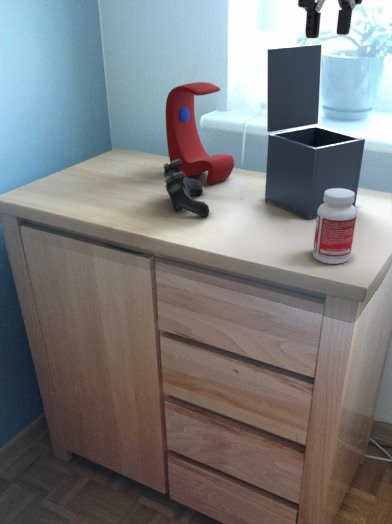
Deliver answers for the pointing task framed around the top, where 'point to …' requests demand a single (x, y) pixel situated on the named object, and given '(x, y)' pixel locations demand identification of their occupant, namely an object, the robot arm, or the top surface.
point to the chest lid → (293, 87)
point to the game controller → (183, 189)
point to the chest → (311, 167)
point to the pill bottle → (335, 226)
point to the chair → (192, 135)
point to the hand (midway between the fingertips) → (327, 36)
